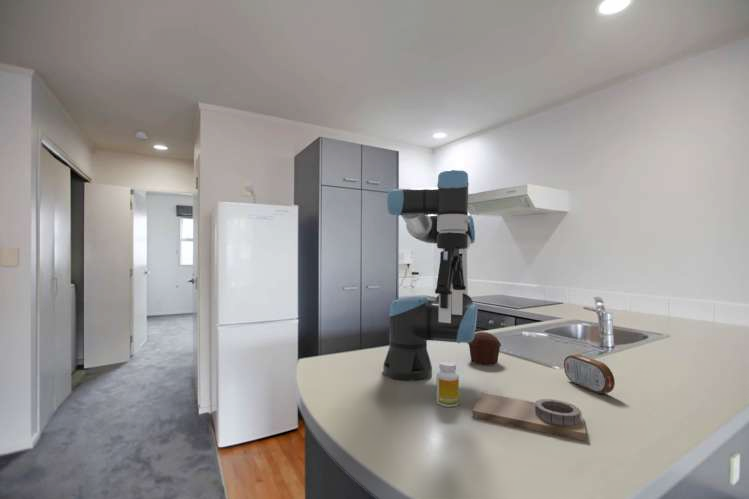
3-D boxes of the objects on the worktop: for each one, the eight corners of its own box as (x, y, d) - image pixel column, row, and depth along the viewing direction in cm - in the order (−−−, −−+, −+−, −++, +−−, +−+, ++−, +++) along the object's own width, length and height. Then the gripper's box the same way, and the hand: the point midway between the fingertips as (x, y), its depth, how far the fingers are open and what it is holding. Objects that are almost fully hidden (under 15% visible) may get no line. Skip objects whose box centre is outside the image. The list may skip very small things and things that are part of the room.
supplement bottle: (462, 406, 85) (463, 365, 85) (442, 408, 83) (443, 367, 83) (451, 398, 90) (452, 359, 90) (432, 400, 88) (433, 361, 89)
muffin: (462, 357, 128) (462, 329, 129) (491, 356, 130) (491, 329, 130) (475, 367, 117) (475, 336, 117) (507, 366, 118) (507, 336, 118)
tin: (615, 397, 92) (615, 365, 92) (606, 398, 91) (606, 366, 92) (570, 378, 107) (570, 350, 107) (561, 379, 106) (561, 351, 106)
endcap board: (472, 417, 79) (472, 401, 79) (481, 398, 90) (481, 384, 90) (586, 441, 69) (586, 423, 69) (581, 417, 80) (581, 401, 80)
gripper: (456, 228, 75) (455, 328, 74) (475, 236, 98) (474, 312, 97) (423, 228, 78) (421, 324, 78) (448, 236, 101) (447, 310, 100)
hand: (451, 318), depth 87 cm, fingers open, 13 cm apart
